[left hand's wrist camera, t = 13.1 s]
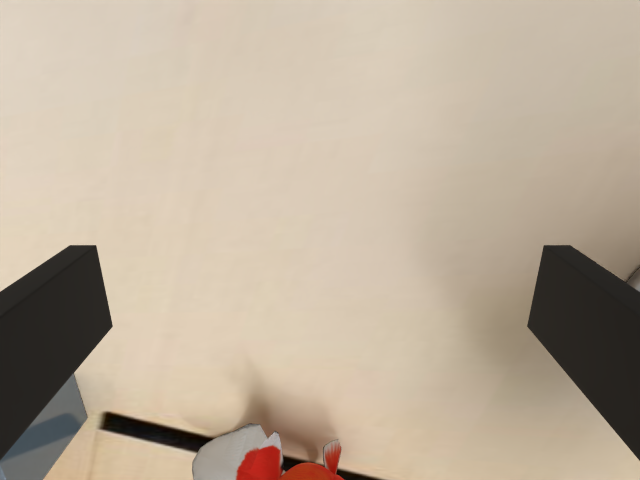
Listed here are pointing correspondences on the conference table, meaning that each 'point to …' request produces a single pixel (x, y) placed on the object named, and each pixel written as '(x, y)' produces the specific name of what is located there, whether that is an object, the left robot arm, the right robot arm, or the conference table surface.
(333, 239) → the conference table surface
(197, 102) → the conference table surface
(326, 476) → the fish
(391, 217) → the conference table surface
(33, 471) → the block
